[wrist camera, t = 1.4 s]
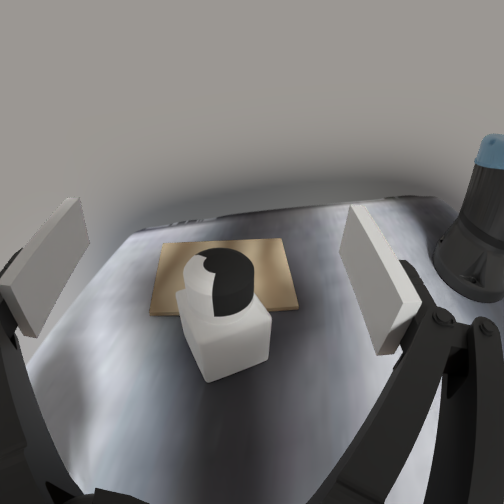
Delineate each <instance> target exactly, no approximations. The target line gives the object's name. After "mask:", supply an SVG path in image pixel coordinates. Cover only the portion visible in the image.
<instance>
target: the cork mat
mask: <svg viewBox="0 0 504 504" xmlns="http://www.w3.org/2000/svg"><path fill="white" fill-rule="evenodd" d="M211 248H230V249H234V250H237V251H239V252H241V253H243V254H244V255H245V256H247V257H248V258H249V259H250V260H251V262H252V263H253V266H254V293H255V294H256V296H257V297H258V299H259V300H260V301H261V303H262V304H263V306H264V307H265V308H266V310H267V311H284V310H298V308H299V305H298V301H297V297H296V293H295V289H294V285H293V281H292V278H291V274H290V270H289V266H288V262H287V258H286V255H285V251H284V247H283V243H282V240H281V238H278V239H252V240H227V241H204V242H182V243H163V246H162V250H161V255H160V259H159V264H158V269H157V274H156V279H155V284H154V289H153V294H152V299H151V305H150V310H149V314H150V316H171V315H180V314H179V309H178V305H177V300H176V292H177V291H180V290H183V289H186V288H185V283H184V277H183V271H184V267H185V265H186V264H187V262H188V261H189V260H190V259H191V258H192V257H193V256H194V255H196V254H197V253H199V252H201V251H204V250H207V249H211Z"/></svg>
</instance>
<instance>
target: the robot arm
mask: <svg viewBox="0 0 504 504" xmlns="http://www.w3.org/2000/svg"><path fill="white" fill-rule="evenodd" d="M474 162H475V166H474V169H473V173H472V176H471V180H470V183H469V186H468V189H467V193H466V196H465V198H464V201H463V204H462V208H461V210H460V213H459V216H458V218H457V219H456V220H455V221H454V223H453V224H452V225H451V226H450V228H449V229H448V230H447V232H446V233H445V234H444V235H443V236H442V237H441V239H440V240H439V241H438V243H437V246H436V248H435V251H434V254H433V263H434V266H435V268H436V270H437V272H438V273H439V275H440V276H441V278H442V279H443V280H444V281H445V282H446V283H447V284H448V285H449V286H450V287H451V288H453V289H454V290H455V291H457V292H458V293H460V294H461V295H463V296H465V297H467V298H469V299H472V300H474V301H478V302H482V303H494V302H497V301H499V300H501V299H502V298H503V297H504V135H502V134H489V135H487V136H485V137H484V139H483V140H482V142H481V146H480V149H479V152H478V155H477V157H476V158H475V161H474ZM89 244H90V241H89V237H88V233H87V229H86V225H85V220H84V216H83V211H82V207H81V201H80V197H71V198H70V197H69V198H66V199H65V201H64V202H63V203H62V204H61V205H60V206H59V207H58V208H57V209H56V210H55V211H54V212H53V214H52V215H51V216H50V217H49V218H48V220H46V222H45V223H44V224H43V225H42V226H41V227H40V229H39V230H38V231H37V232H36V233H35V234H34V236H33V237H32V238H31V239H30V241H29V242H28V243H27V244H26V245H25V247H24V248H21V249H20V250H19V251H18V252H16V253H15V254H14V255H13V256H12V258H11V259H10V260H9V261H8V263H7V264H6V265H5V267H4V269H3V270H2V271H1V272H0V504H149V503H146V502H144V501H142V500H139V499H137V498H135V497H132V496H130V495H125V494H121V493H116V492H111V491H107V490H103V489H99V488H95V493H94V494H86V495H84V494H83V492H82V491H81V489H80V488H79V487H78V485H77V484H76V483H75V482H74V481H73V480H72V478H71V477H70V476H69V474H68V472H67V470H66V468H65V466H64V464H63V462H62V460H61V458H60V456H59V454H58V452H57V450H56V448H55V445H54V443H53V441H52V439H51V436H50V434H49V432H48V429H47V427H46V424H45V422H44V419H43V417H42V414H41V411H40V409H39V406H38V403H37V401H36V398H35V395H34V392H33V389H32V386H31V383H30V380H29V377H28V373H27V370H26V367H25V363H24V360H23V356H22V353H21V349H20V345H19V341H18V338H17V336H16V334H15V330H16V328H17V326H18V327H19V328H20V330H21V332H22V334H23V335H24V336H29V337H33V338H38V336H39V334H40V332H41V330H42V328H43V326H44V324H45V322H46V320H47V318H48V316H49V314H50V312H51V310H52V308H53V307H54V304H55V303H56V301H57V299H58V297H59V295H60V294H61V292H62V290H63V288H64V286H65V285H66V283H67V281H68V279H69V278H70V276H71V274H72V272H73V271H74V269H75V267H76V266H77V264H78V262H79V260H80V259H81V257H82V256H83V254H84V252H85V251H86V249H87V248H88V246H89ZM339 254H340V256H341V259H342V261H343V264H344V266H345V269H346V271H347V274H348V277H349V279H350V282H351V285H352V287H353V290H354V293H355V295H356V298H357V301H358V303H359V306H360V309H361V312H362V315H363V317H364V320H365V323H366V326H367V329H368V332H369V335H370V338H371V341H372V344H373V347H374V350H375V353H376V356H378V355H389V354H394V353H395V351H396V350H397V348H398V346H399V345H401V348H402V351H403V353H402V355H401V356H400V358H399V360H398V361H397V363H396V364H395V366H394V367H393V369H394V370H393V372H392V374H391V376H390V378H389V380H388V381H387V383H386V385H385V387H384V389H383V391H382V392H381V394H380V396H379V398H378V400H377V401H376V403H375V405H374V406H373V408H372V410H371V412H370V413H369V415H368V417H367V418H366V420H365V422H364V423H363V425H362V426H361V428H360V430H359V431H358V433H357V434H356V436H355V437H354V439H353V441H352V442H351V444H350V445H349V447H348V448H347V450H346V451H345V453H344V454H343V456H342V457H341V458H340V460H339V461H338V463H337V464H336V466H335V467H334V468H333V470H332V471H331V473H330V474H329V475H328V477H327V478H326V479H325V481H324V482H323V483H322V485H321V486H320V487H319V489H318V490H317V491H316V493H315V494H314V495H313V496H312V497H311V499H310V500H309V501H308V502H307V503H306V504H384V502H385V499H386V497H387V495H388V494H389V492H390V490H391V488H392V487H393V485H394V483H395V481H396V479H397V478H398V476H399V474H400V472H401V470H402V468H403V466H404V464H405V462H406V460H407V458H408V456H409V454H410V452H411V450H412V448H413V446H414V444H415V442H416V440H417V437H418V435H419V433H420V431H421V428H422V426H423V424H424V421H425V419H426V417H427V414H428V412H429V409H430V407H431V404H432V402H433V399H434V396H435V394H436V391H437V388H438V385H439V383H440V380H441V377H442V389H441V401H440V411H439V420H438V428H437V436H436V443H435V449H434V455H433V461H432V466H431V471H430V476H429V481H428V486H427V490H426V495H425V499H424V503H423V504H503V502H504V359H503V351H502V344H501V338H500V333H499V330H498V328H497V326H496V325H495V323H494V322H492V321H491V320H490V319H488V318H486V317H477V318H475V320H474V321H473V322H472V324H471V325H467V324H462V323H458V322H456V320H455V318H454V316H453V315H452V314H451V313H450V312H449V311H447V310H446V309H444V308H441V307H437V306H436V304H435V302H434V300H433V298H432V297H431V295H430V293H429V291H428V290H427V288H426V286H425V285H423V281H422V279H421V278H419V274H418V273H417V271H416V270H415V268H414V267H413V266H412V265H411V264H410V263H408V262H407V261H406V260H398V258H397V257H396V255H395V253H394V252H393V250H392V248H391V247H390V245H389V243H388V242H387V240H386V238H385V237H384V235H383V234H382V232H381V230H380V229H379V227H378V226H377V224H376V222H375V221H374V219H373V218H372V216H371V215H370V213H369V212H368V210H367V209H366V207H365V206H361V205H350V207H349V212H348V216H347V221H346V225H345V229H344V233H343V237H342V241H341V246H340V250H339Z"/></svg>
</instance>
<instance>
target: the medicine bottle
mask: <svg viewBox="0 0 504 504" xmlns="http://www.w3.org/2000/svg"><path fill="white" fill-rule="evenodd" d="M183 277H184V283H185V288H186V289H183V290H180V291H177V292H176V300H177V305H178V309H179V314H180V318H181V323H182V327H183V332H184V336H185V338H186V340H187V342H188V345H189V347H190V349H191V351H192V354H193V356H194V358H195V360H196V362H197V365H198V367H199V369H200V371H201V373H202V375H203V378H204V380H205V381H206V382H207V383H210V382H213V381H215V380H218V379H221V378H223V377H226V376H229V375H231V374H234V373H236V372H239V371H242V370H244V369H247V368H249V367H252V366H254V365H257V364H259V363H262V362H264V361H266V360H267V359H268V356H269V345H270V334H271V323H272V318H271V315H270V314H269V313H268V311H267V310H266V308H265V307H264V306H263V304H262V303H261V301H260V300H259V299H258V297H257V296H256V294H255V293H254V266H253V263H252V262H251V260H250V259H249V258H248V257H247V256H245V255H244V254H243V253H241V252H239V251H237V250H234V249H230V248H211V249H207V250H204V251H201V252H199V253H197V254H196V255H194V256H193V257H192V258H191V259H190V260H189V261H188V262H187V264H186V265H185V267H184V271H183Z"/></svg>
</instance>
